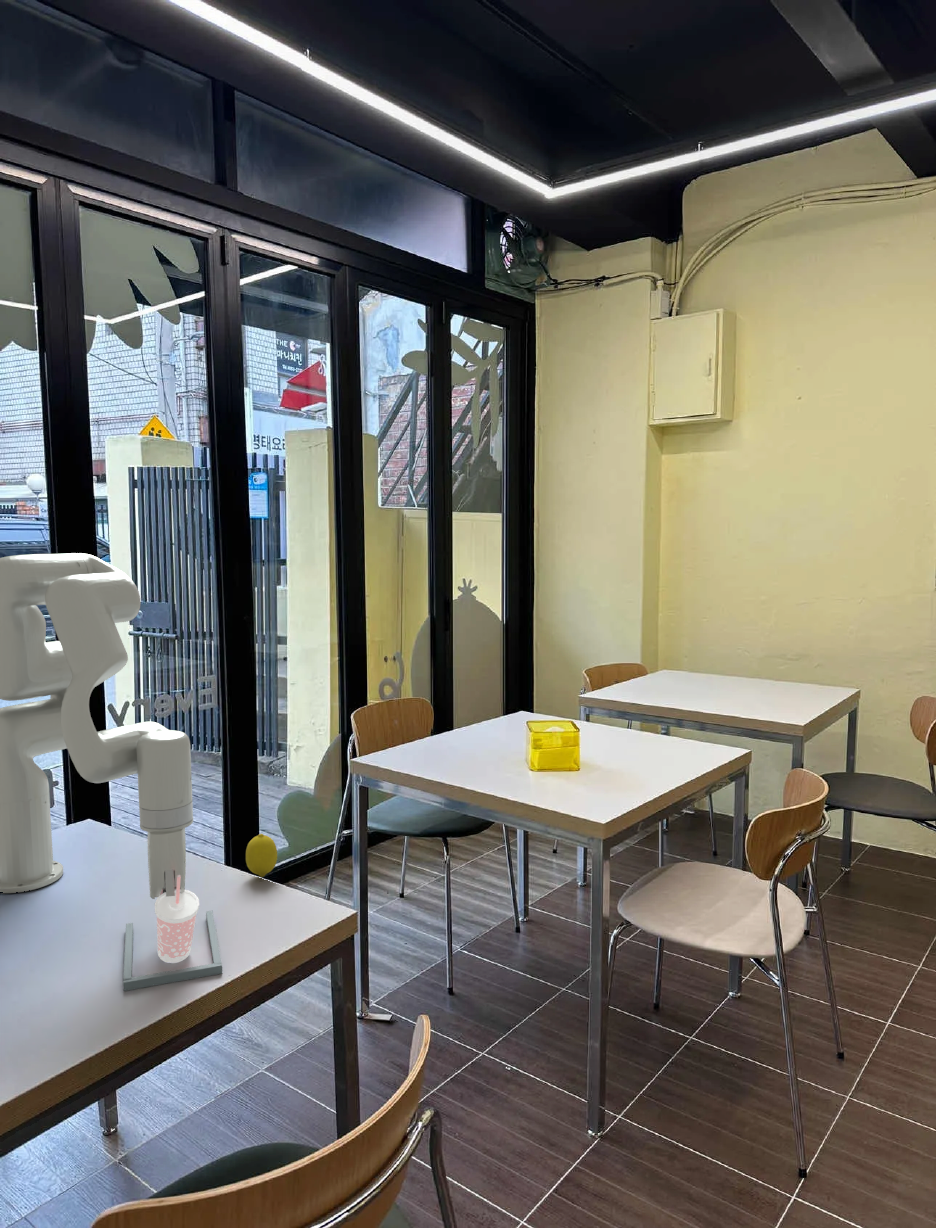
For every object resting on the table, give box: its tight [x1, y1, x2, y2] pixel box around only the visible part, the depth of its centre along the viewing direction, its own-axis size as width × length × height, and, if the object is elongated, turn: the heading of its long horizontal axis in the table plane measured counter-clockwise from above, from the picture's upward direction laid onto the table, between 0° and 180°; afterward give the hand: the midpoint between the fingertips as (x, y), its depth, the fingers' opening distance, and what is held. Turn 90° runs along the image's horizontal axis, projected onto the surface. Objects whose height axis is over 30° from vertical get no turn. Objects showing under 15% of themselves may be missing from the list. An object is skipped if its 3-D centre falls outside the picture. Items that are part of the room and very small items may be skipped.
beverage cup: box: [154, 875, 200, 964], centre depth 124 cm, size 6×6×14 cm
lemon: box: [245, 833, 278, 878], centre depth 155 cm, size 6×6×8 cm
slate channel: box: [122, 910, 223, 992], centre depth 129 cm, size 18×13×1 cm
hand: (171, 931), depth 130 cm, fingers closed
